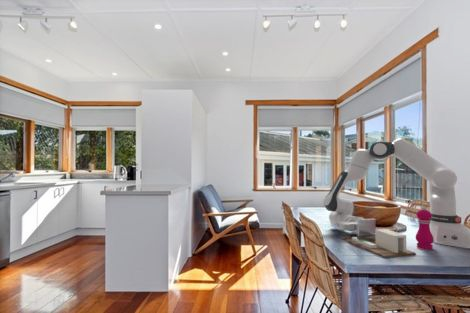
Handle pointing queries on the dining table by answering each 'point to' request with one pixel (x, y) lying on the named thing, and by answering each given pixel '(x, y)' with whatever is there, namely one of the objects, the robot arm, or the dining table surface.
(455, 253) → the dining table surface
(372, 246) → the gauge scale
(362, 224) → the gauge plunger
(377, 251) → the board
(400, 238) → the block
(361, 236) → the block
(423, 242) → the pepper mill
